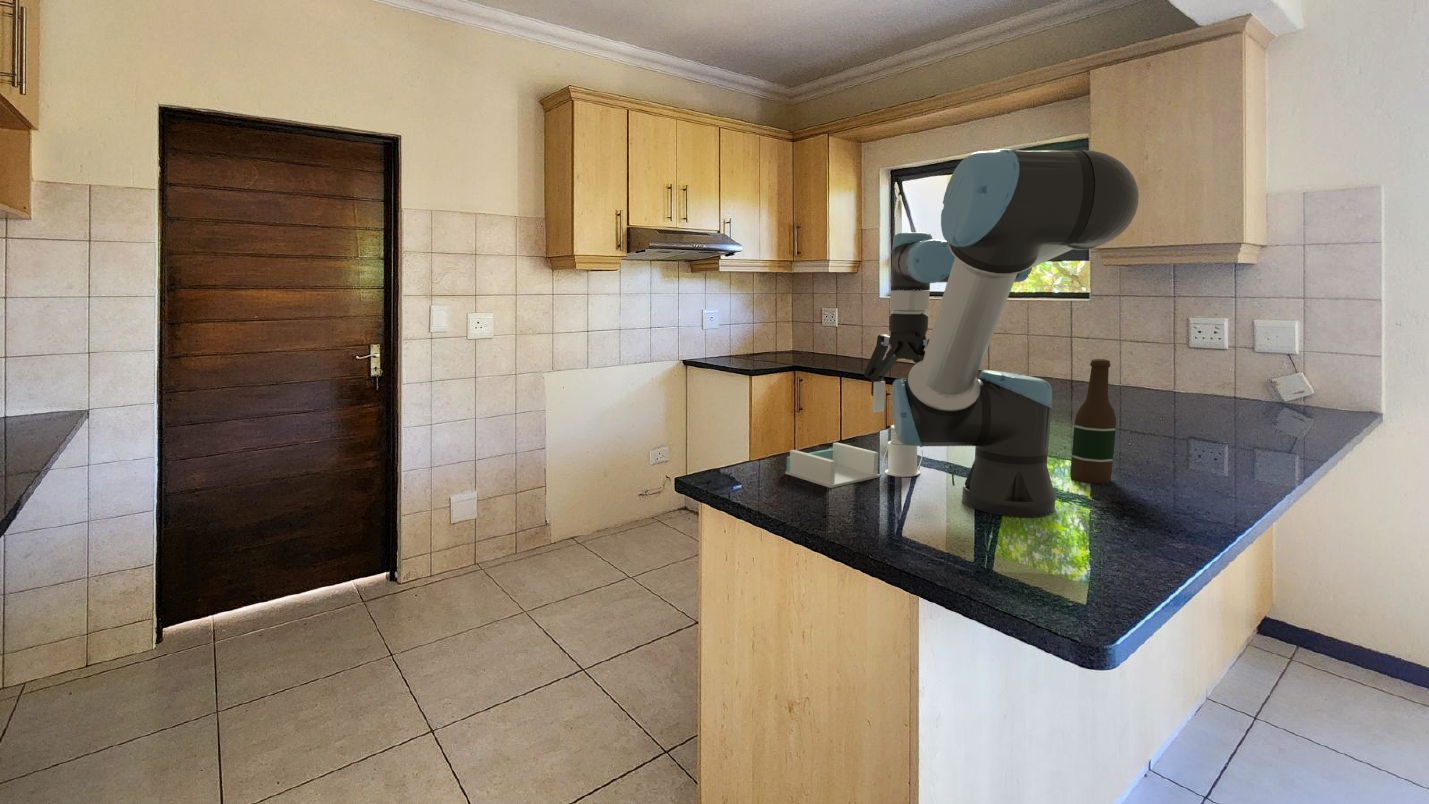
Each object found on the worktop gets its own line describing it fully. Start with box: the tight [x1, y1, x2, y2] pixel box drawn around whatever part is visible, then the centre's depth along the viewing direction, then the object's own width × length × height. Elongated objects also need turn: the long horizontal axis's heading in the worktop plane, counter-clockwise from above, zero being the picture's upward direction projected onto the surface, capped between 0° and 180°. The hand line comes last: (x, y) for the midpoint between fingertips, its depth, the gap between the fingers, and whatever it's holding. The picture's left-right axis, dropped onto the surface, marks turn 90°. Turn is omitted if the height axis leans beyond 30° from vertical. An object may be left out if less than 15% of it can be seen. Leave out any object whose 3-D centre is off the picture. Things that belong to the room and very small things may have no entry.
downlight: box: [882, 424, 924, 478], centre depth 145 cm, size 8×7×10 cm
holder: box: [784, 442, 881, 489], centre depth 143 cm, size 13×14×5 cm
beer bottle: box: [1069, 358, 1117, 485], centre depth 139 cm, size 8×8×24 cm
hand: (903, 417), depth 144 cm, fingers open, 13 cm apart
